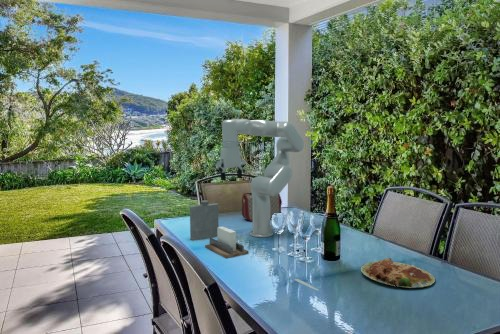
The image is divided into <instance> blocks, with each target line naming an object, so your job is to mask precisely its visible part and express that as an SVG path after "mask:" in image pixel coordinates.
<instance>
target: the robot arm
mask: <svg viewBox="0 0 500 334" xmlns="http://www.w3.org/2000/svg"><path fill="white" fill-rule="evenodd" d="M221 129H222V131H221V132H222V133H221V134H222V147H221V149H220V154H219V155H220V156H219V161H218V162H216V163H215V167H216V170H218V172H219V173H220V180H221V181H223V182H224V181H226V176H227V175H226V170H227V169H235V168H236V169H237V170H236V175H237V177H236V178H237V179H242V178H243V170H244V168H245V165H246V163H247V161H246V160H245V159H242V156H241V155H242V154H241V150H240V147H239V145H240V144H241V143H240V141H239V136H238V135H247V136H248V135H249V136H256V137H267V138H268V137H271V138H278V139H277V141H276V146H275V147H276V154H275V156H274V158H273V159H272V160H271V162H270V163H269V164H268V165H267V166H266V168H265V169H264V172H263V174H264V176H254V178H252V180H251V181H250V191H251V192H250V193H252V199H253V222H252V230H251V231H250V232H249V235H250V236H251V237H254V238H270V237H272V236H273V235H274V231H273V230H274V229H273V226H274V225H271V220H270V199H269V196H276V195H278V194H280V193H281V192H282V191H283V190H284V188H285V187H286V186H287V185H288V183H289V182H290V181H291V180H292V179H291V178H292V176H293V170H292V167H291V166H290V162H291V160H290V156H289V153H300V152H302V151H303V149H304V147H305V142H304V140H303V137H302V136H301V134H300V133H299V131H298V130H297V128H296V126H295V125H293V123H292V122H290V121H276V120H268V119H267V120H265V119H252V120H250V119H248V118H247V119H246V118H232V119H225V120H223V121H221Z"/></svg>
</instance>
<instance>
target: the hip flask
mask: <svg viewBox="0 0 500 334" xmlns="http://www.w3.org/2000/svg"><path fill="white" fill-rule="evenodd" d="M200 202H201V204H195V205H190V206H189V230H190V231H189V232H190V236H189V238H190V241H202V240H207V239H210V238H213V239H214V238H218V234H217V227H220V225H219V203H216V202H215V203H209V200H206V199H205V200H201V201H200Z"/></svg>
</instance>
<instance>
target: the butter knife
mask: <svg viewBox="0 0 500 334" xmlns="http://www.w3.org/2000/svg"><path fill="white" fill-rule="evenodd" d="M293 280H294V281H295V282H297V283H299V284H301V285H304V286H306V287H308V288H311V289H312V290H316V292H317V291H319V289H318V288H316V287H314V286H312V285H310V284H309V283H308V282H305V281H303V280H301V279H299V278H294V279H293Z"/></svg>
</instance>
